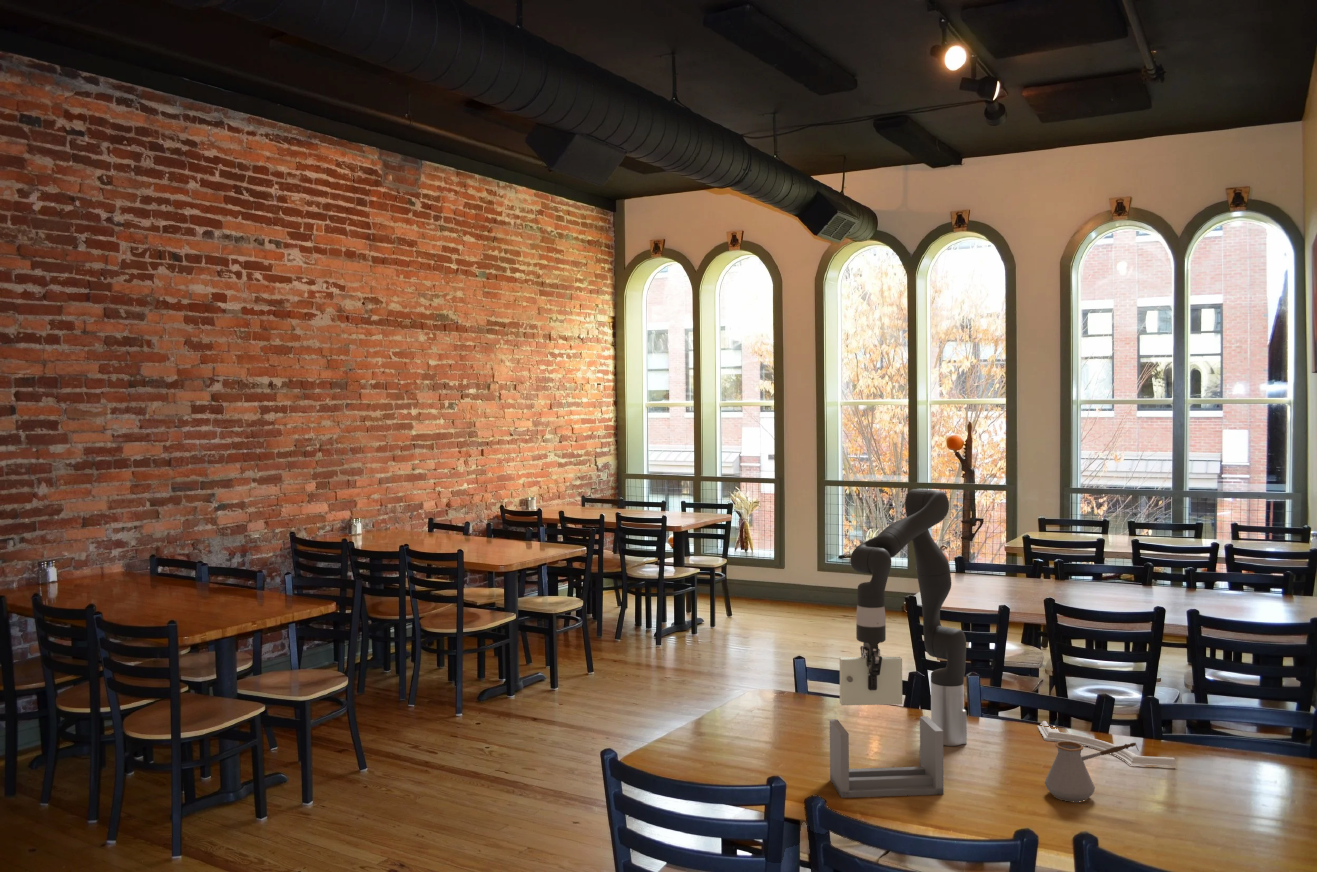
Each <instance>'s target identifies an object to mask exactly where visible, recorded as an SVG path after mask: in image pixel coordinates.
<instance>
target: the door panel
mask: <svg viewBox="0 0 1317 872" xmlns="http://www.w3.org/2000/svg"><path fill="white" fill-rule="evenodd" d="M869 664H871V662H870V663H869ZM873 670H875V669H873ZM839 704H840V705H841V706H875V705H876V706H878V705H879V706H882V705H883V706H888V705H889V706H891V705H892V706H893V705H894V706H895V705H896V706H897V705H903V658H902V657H901V656H882V663H881V669H880V675H878V676H877V690H869V689H868V667H867V666H866V659H865V657H860V656H854V657H850V656H849V657H847V656H846V657H839Z"/></svg>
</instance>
